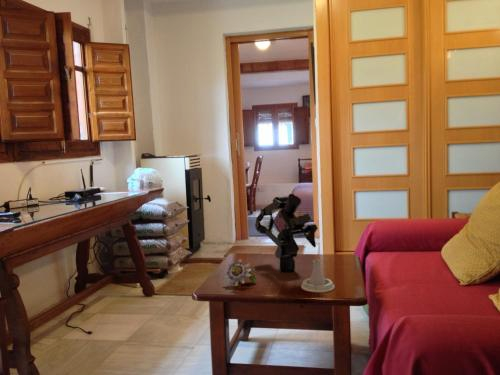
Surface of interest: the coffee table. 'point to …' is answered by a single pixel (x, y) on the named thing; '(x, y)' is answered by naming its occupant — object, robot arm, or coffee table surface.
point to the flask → (316, 274)
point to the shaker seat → (318, 286)
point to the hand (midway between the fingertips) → (306, 248)
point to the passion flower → (239, 273)
